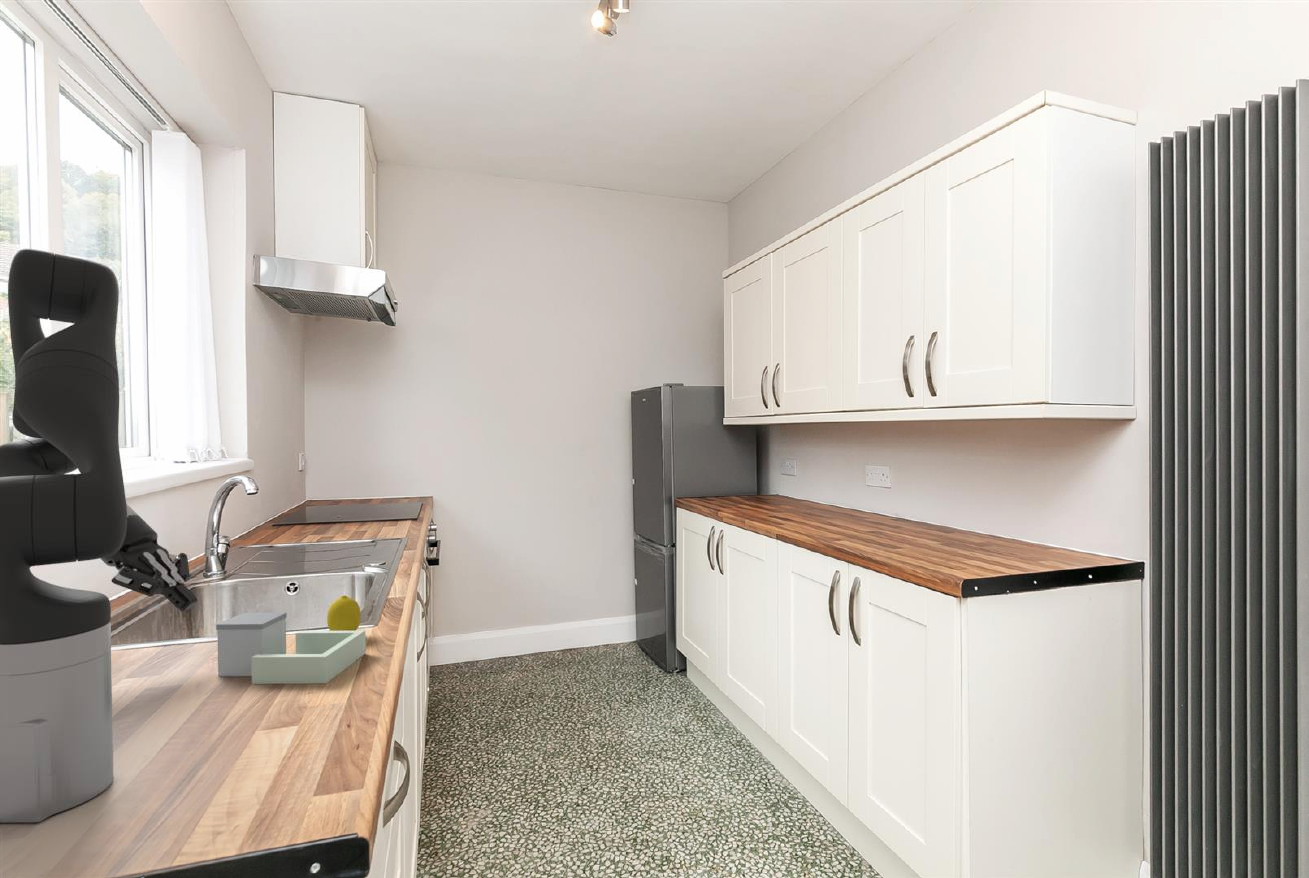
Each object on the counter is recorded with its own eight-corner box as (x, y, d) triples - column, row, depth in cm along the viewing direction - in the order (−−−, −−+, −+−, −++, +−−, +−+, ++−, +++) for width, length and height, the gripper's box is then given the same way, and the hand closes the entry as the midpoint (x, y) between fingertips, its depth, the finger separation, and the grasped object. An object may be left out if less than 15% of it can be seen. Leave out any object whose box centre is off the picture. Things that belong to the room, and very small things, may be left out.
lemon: (351, 644, 110) (351, 599, 110) (321, 644, 110) (320, 599, 110) (366, 634, 116) (366, 591, 116) (337, 634, 116) (337, 591, 116)
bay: (326, 683, 93) (325, 656, 93) (251, 683, 93) (251, 657, 93) (365, 654, 105) (365, 630, 105) (300, 654, 105) (299, 631, 105)
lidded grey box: (263, 676, 96) (262, 624, 96) (217, 676, 96) (216, 624, 96) (287, 661, 102) (286, 612, 102) (243, 662, 102) (243, 613, 102)
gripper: (91, 519, 92) (174, 601, 92) (162, 508, 106) (235, 579, 106) (57, 555, 92) (139, 636, 92) (132, 539, 106) (204, 610, 106)
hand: (190, 606), depth 99 cm, fingers closed
